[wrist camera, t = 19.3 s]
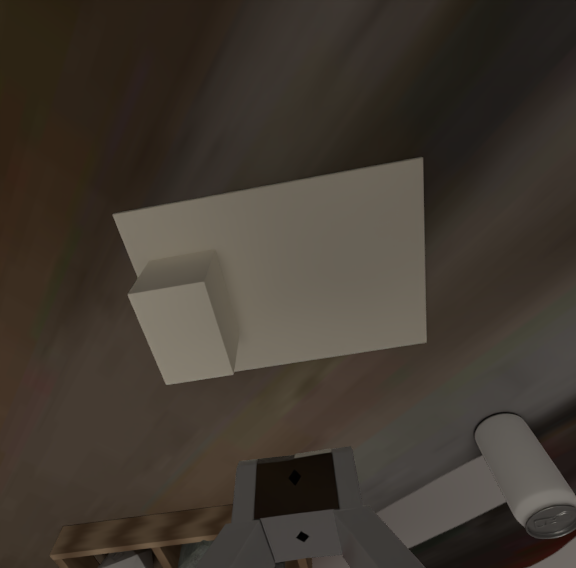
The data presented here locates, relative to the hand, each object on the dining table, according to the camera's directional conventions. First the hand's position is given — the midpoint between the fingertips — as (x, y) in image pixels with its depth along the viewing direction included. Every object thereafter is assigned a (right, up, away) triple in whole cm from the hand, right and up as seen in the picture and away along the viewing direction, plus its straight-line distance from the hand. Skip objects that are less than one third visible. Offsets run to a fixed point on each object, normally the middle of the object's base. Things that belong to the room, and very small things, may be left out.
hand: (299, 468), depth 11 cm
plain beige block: (-9, 0, +25) cm, 27 cm away
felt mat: (-1, +5, +30) cm, 31 cm away
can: (+27, -14, +41) cm, 51 cm away
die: (-24, -36, +53) cm, 68 cm away
